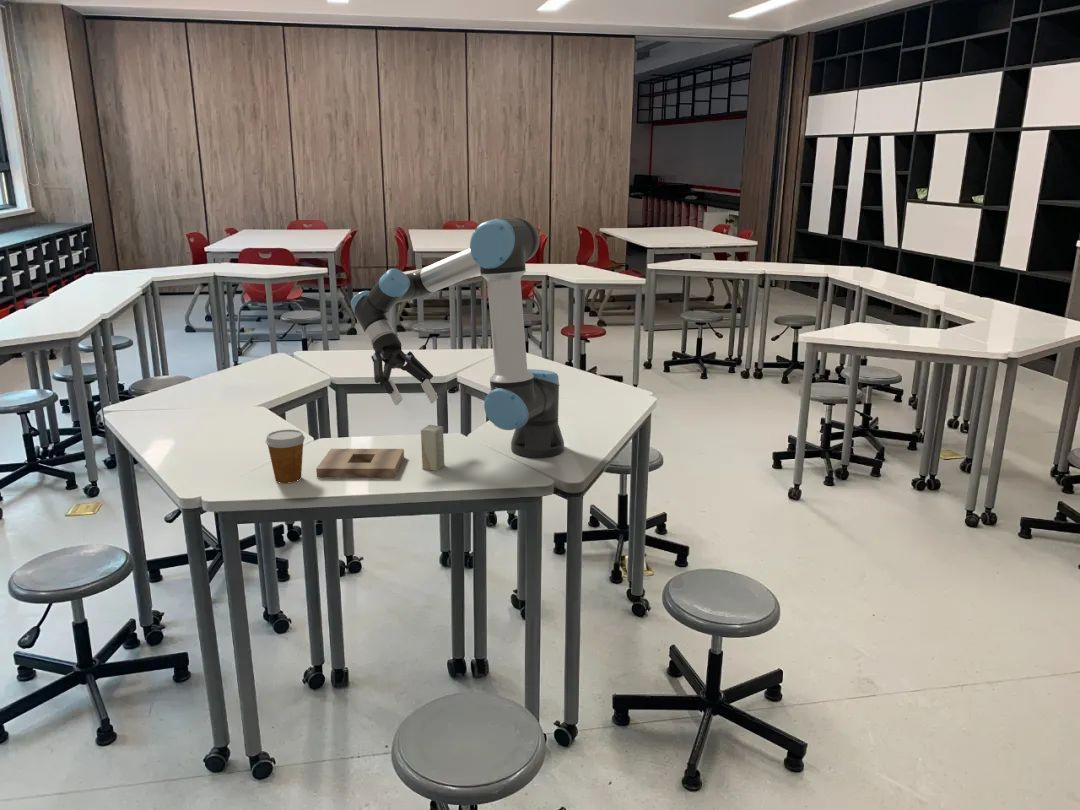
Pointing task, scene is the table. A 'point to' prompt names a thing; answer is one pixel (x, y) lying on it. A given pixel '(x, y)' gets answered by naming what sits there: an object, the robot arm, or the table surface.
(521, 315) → the robot arm
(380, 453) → the socket block
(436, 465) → the box
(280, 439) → the disposable coffee cup
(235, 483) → the table surface
